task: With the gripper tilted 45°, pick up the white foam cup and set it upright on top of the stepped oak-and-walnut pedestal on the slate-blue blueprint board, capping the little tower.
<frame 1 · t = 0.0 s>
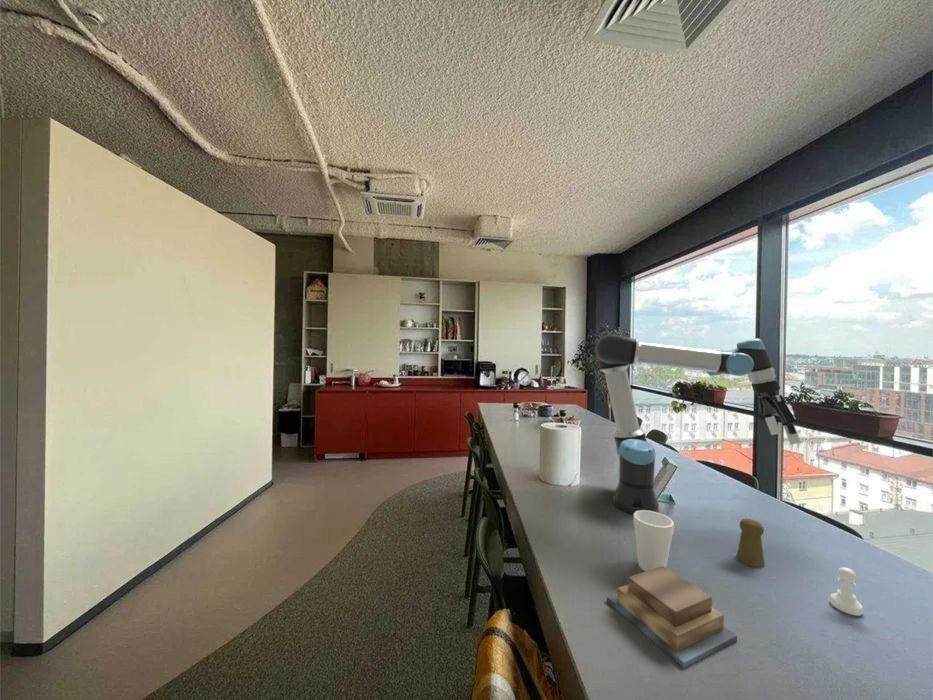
hand: (785, 438, 125), 28 cm above the table, tool tilted 20°, fingers open, 13 cm apart
foam cup: (651, 568, 93), on the table
blueprint pedestal: (667, 619, 75), on the table
cork: (750, 561, 97), on the table
chess pawn: (845, 608, 80), on the table
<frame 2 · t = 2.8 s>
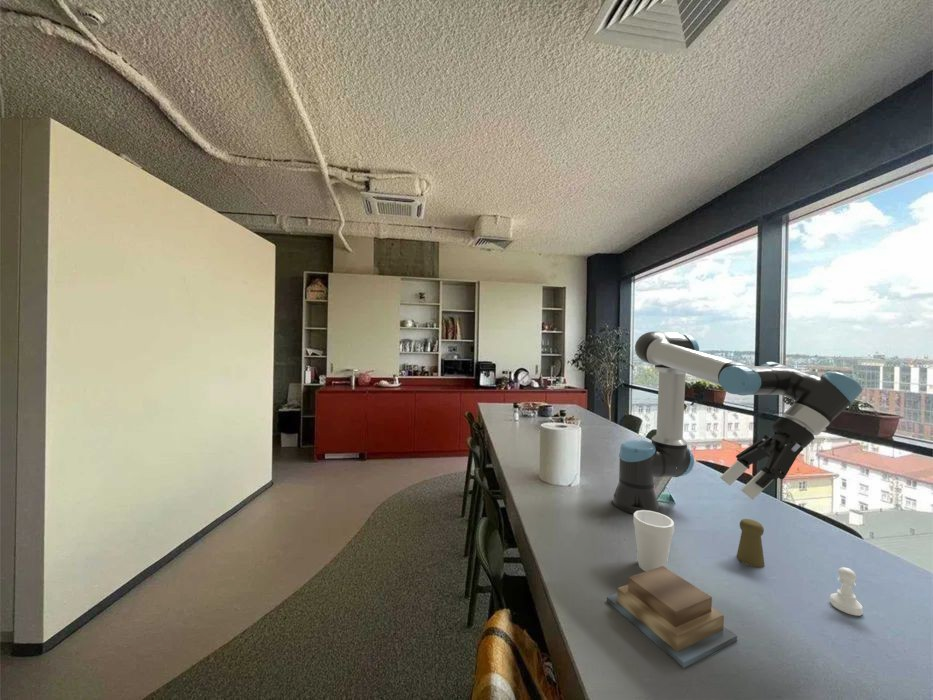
hand: (734, 487, 89), 23 cm above the table, tool tilted 40°, fingers open, 13 cm apart
nothing on the table moved.
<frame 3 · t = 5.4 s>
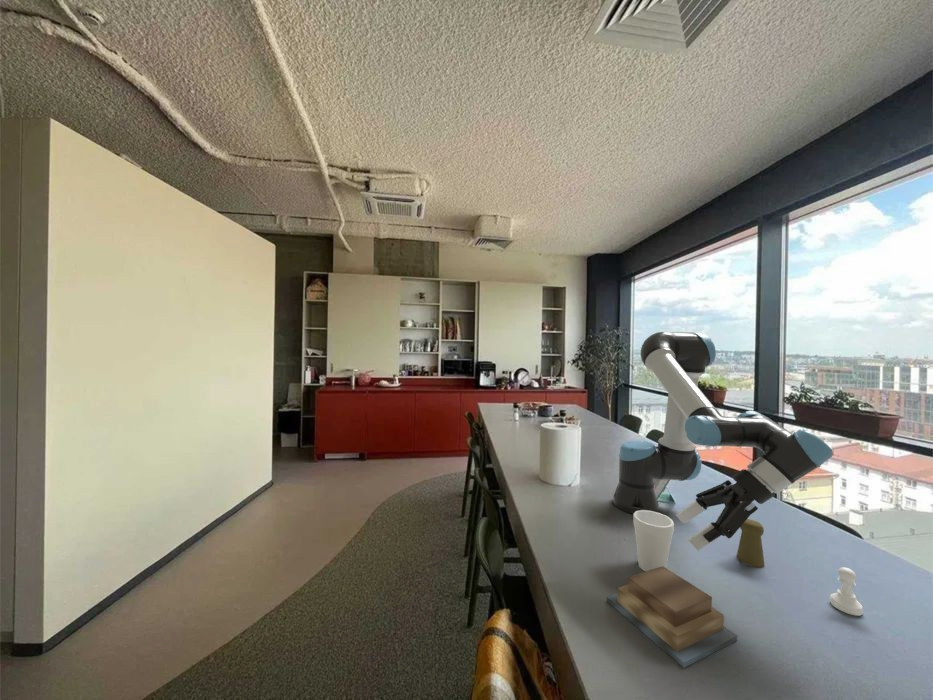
hand: (685, 531, 89), 12 cm above the table, tool tilted 45°, fingers open, 13 cm apart
nothing on the table moved.
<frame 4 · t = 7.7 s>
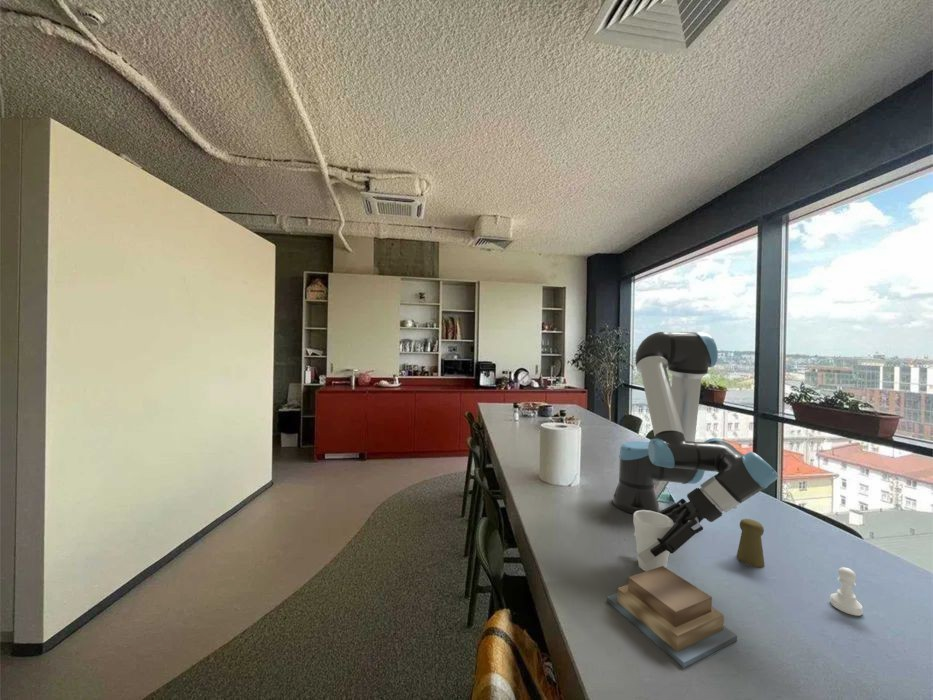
hand: (639, 548, 94), 4 cm above the table, tool tilted 45°, fingers closed on foam cup, 9 cm apart
foam cup: (651, 568, 93), on the table, touching gripper
everything else where it was.
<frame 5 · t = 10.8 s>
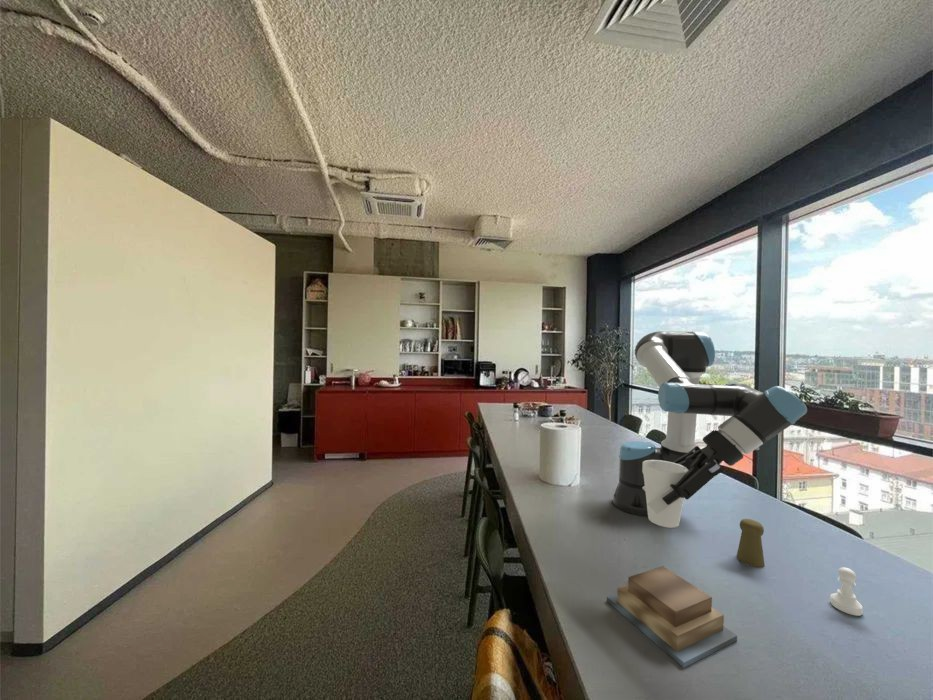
hand: (649, 500, 84), 21 cm above the table, tool tilted 45°, fingers closed on foam cup, 9 cm apart
foam cup: (663, 521, 83), point 17 cm above the table, touching gripper
everything else where it was.
when the fingers open (13 cm above the table, at t = 14.0 s): foam cup drops 1 cm, resting on blueprint pedestal.
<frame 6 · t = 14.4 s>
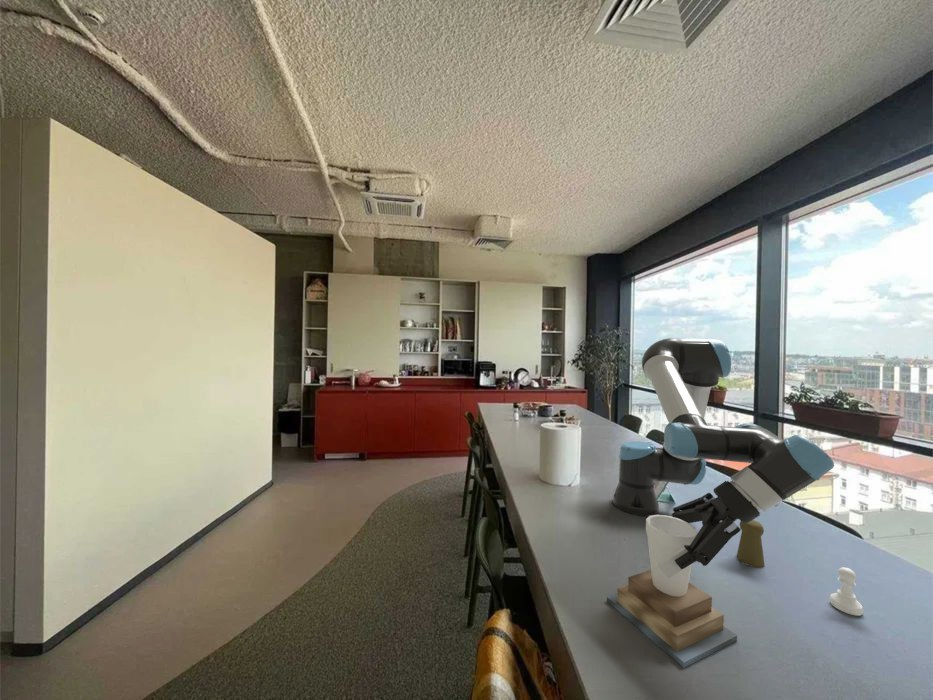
hand: (657, 552, 75), 14 cm above the table, tool tilted 45°, fingers open, 13 cm apart
foam cup: (669, 586, 75), point 7 cm above the table, touching blueprint pedestal
everything else where it was.
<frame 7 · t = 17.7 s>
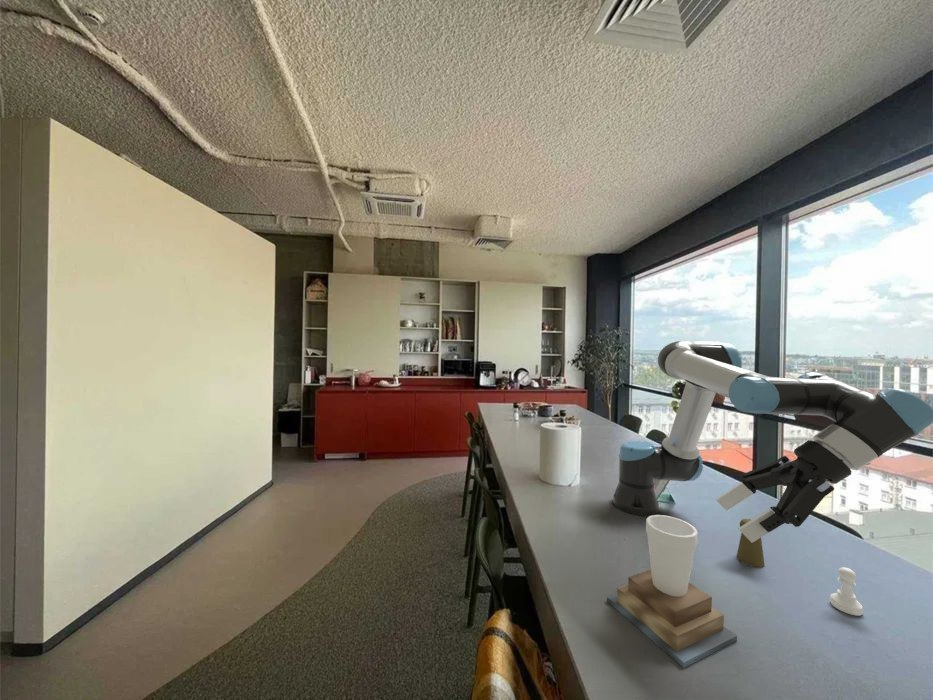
hand: (731, 519, 71), 24 cm above the table, tool tilted 45°, fingers open, 13 cm apart
nothing on the table moved.
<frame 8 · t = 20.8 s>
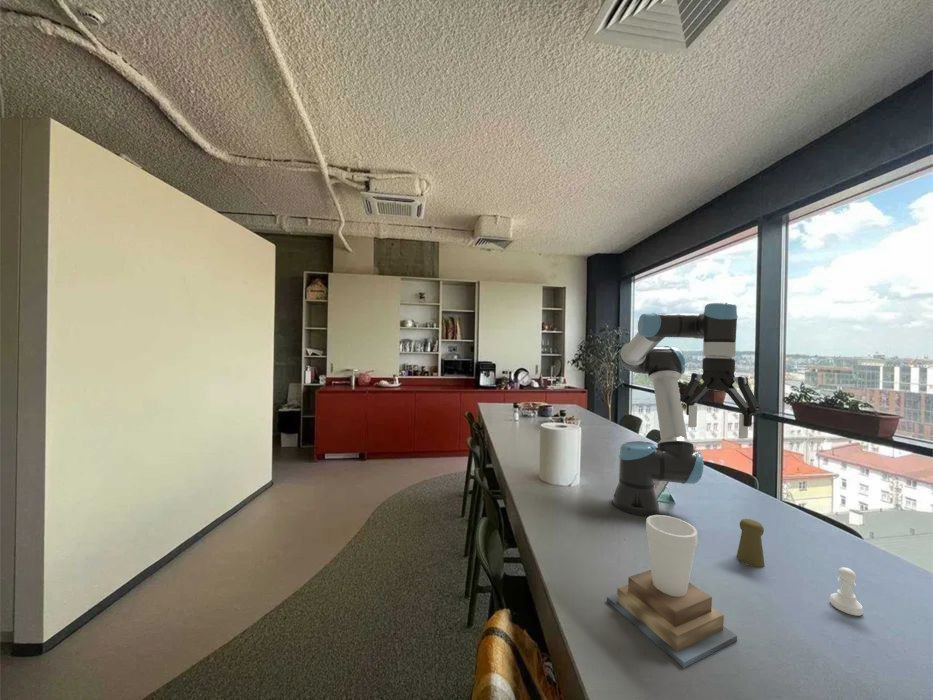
hand: (716, 432, 100), 35 cm above the table, tool pointing down, fingers open, 13 cm apart
nothing on the table moved.
at the end: foam cup inside the target area on the blueprint pedestal (0.2 cm from its centre), point 6.8 cm above the blueprint pedestal's base; foam cup tilted 0°; the gripper is holding nothing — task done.
